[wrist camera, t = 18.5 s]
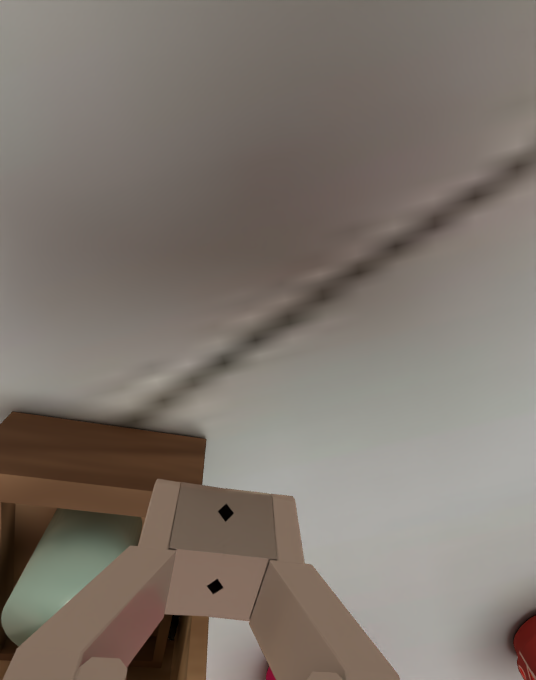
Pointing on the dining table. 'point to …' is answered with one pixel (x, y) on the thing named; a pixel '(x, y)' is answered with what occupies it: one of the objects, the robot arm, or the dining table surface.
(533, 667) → the smoothie
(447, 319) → the dining table surface
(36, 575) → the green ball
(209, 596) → the robot arm
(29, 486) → the tray
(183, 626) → the counter cubby
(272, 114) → the dining table surface
